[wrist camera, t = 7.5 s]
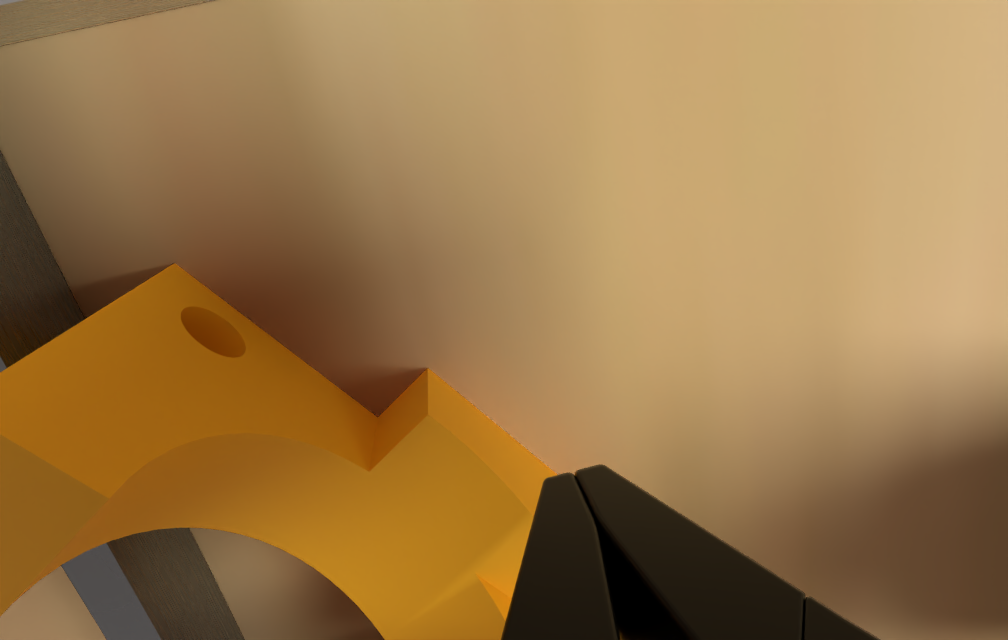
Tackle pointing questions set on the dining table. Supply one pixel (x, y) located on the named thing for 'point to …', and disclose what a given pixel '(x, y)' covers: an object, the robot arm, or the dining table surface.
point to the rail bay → (52, 311)
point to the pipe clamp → (259, 463)
